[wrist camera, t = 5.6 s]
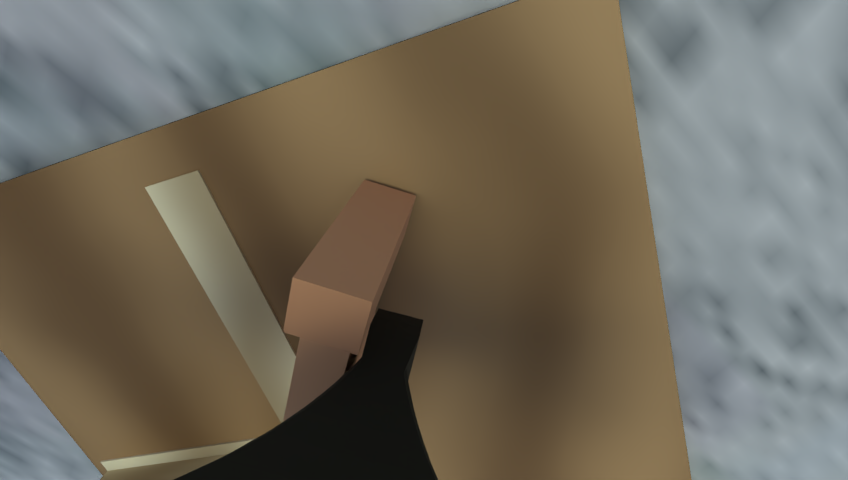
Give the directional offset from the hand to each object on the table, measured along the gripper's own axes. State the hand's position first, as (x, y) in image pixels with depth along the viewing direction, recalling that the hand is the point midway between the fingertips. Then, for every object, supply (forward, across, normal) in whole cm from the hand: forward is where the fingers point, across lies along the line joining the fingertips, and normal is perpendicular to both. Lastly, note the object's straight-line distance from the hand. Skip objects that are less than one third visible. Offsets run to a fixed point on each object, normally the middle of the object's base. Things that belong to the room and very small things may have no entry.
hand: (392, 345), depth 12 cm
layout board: (+3, +2, +4) cm, 6 cm away
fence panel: (+2, +1, +2) cm, 3 cm away
